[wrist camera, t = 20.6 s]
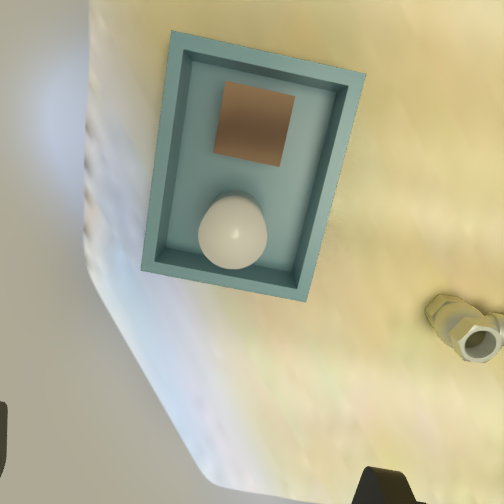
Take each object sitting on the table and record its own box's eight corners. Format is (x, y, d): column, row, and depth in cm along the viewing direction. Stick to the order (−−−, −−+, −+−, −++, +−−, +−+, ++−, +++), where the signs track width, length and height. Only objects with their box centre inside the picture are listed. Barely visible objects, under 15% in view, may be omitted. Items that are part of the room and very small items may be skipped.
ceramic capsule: (212, 185, 34) (203, 196, 27) (268, 195, 34) (273, 208, 27) (204, 239, 35) (193, 263, 29) (258, 249, 36) (260, 274, 29)
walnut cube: (230, 89, 32) (225, 80, 27) (289, 102, 32) (295, 96, 27) (219, 150, 33) (213, 152, 28) (276, 163, 33) (279, 167, 29)
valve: (415, 338, 39) (531, 349, 39) (446, 377, 33) (584, 390, 33) (430, 277, 37) (552, 289, 37) (466, 305, 31) (612, 320, 31)
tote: (184, 46, 32) (171, 30, 27) (349, 83, 32) (366, 73, 27) (155, 253, 37) (140, 270, 32) (299, 281, 37) (305, 302, 32)
